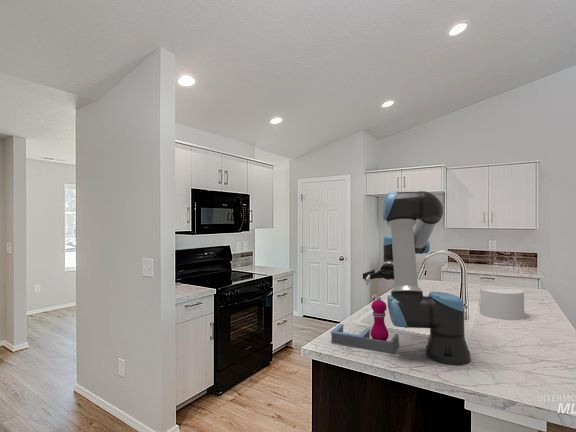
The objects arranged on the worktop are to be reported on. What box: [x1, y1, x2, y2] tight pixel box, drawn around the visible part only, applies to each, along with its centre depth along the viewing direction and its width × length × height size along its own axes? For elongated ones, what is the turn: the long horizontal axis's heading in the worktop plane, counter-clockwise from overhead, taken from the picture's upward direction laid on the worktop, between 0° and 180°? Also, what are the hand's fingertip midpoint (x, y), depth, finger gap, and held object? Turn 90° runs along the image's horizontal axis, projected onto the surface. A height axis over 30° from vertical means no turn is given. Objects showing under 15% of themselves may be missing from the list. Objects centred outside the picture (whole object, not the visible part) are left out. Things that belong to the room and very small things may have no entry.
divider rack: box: [330, 323, 400, 354], centre depth 140 cm, size 26×12×5 cm, turn 61°
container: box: [478, 288, 525, 321], centre depth 177 cm, size 20×20×13 cm
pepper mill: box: [370, 295, 390, 341], centre depth 138 cm, size 7×7×20 cm
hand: (382, 283), depth 146 cm, fingers open, 13 cm apart
